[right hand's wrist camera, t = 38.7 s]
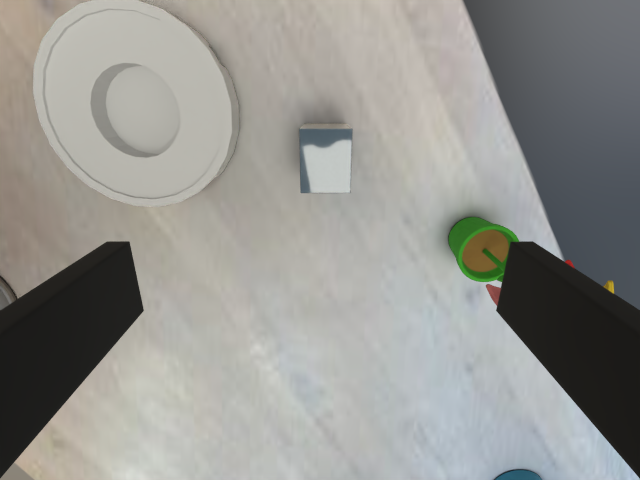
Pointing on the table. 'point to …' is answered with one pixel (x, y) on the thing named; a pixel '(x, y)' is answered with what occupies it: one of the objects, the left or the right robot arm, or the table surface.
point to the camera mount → (519, 475)
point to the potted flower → (485, 251)
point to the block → (325, 158)
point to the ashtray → (135, 102)
